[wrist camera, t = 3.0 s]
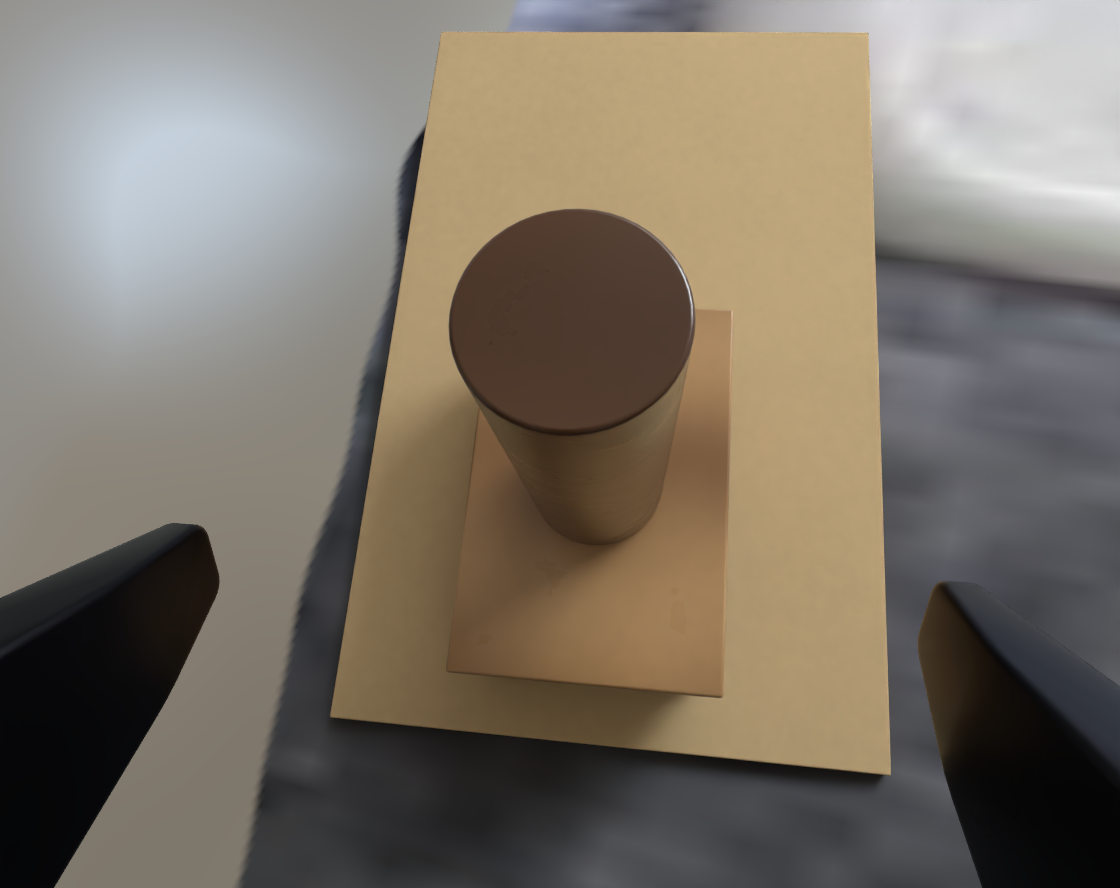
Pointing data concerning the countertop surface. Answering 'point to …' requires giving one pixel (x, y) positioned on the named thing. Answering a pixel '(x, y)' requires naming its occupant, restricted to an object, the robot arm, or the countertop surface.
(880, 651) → the cork mat
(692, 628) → the wooden rubber stamp
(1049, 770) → the robot arm
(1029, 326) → the countertop surface
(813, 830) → the countertop surface
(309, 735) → the countertop surface
